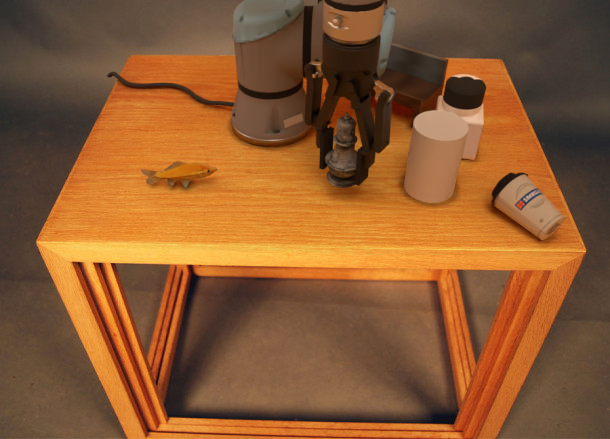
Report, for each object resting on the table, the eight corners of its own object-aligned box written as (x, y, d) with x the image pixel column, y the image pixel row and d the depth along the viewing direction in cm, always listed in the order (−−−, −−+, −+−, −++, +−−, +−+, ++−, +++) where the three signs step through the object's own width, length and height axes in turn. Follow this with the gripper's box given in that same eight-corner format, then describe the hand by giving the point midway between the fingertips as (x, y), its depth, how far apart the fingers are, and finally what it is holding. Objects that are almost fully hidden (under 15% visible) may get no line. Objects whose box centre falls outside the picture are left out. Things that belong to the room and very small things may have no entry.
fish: (222, 177, 93) (214, 152, 89) (220, 185, 91) (212, 161, 88) (151, 185, 94) (140, 161, 91) (148, 193, 93) (137, 169, 90)
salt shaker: (336, 193, 86) (339, 128, 78) (317, 171, 90) (319, 107, 81) (368, 182, 88) (375, 117, 80) (349, 161, 92) (354, 97, 83)
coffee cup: (531, 252, 85) (484, 208, 90) (566, 225, 85) (518, 183, 90) (538, 232, 79) (487, 186, 84) (575, 203, 79) (523, 159, 84)
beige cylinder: (454, 175, 95) (469, 113, 87) (453, 206, 89) (468, 144, 81) (406, 168, 96) (415, 107, 88) (401, 198, 90) (411, 136, 82)
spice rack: (352, 106, 111) (355, 59, 104) (377, 85, 117) (382, 39, 110) (416, 129, 105) (424, 81, 98) (439, 106, 111) (448, 59, 104)
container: (475, 161, 98) (492, 95, 89) (429, 155, 99) (442, 90, 90) (474, 136, 103) (490, 71, 94) (431, 131, 104) (443, 67, 96)
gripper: (275, 24, 74) (280, 163, 90) (403, 65, 66) (384, 210, 82) (308, 4, 78) (308, 140, 94) (432, 41, 70) (408, 182, 86)
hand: (343, 172), depth 88 cm, fingers closed on salt shaker, 6 cm apart
